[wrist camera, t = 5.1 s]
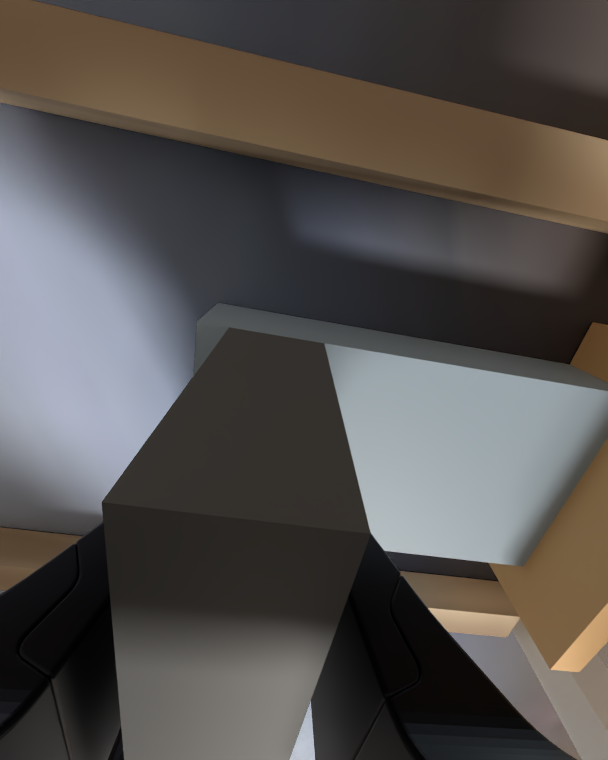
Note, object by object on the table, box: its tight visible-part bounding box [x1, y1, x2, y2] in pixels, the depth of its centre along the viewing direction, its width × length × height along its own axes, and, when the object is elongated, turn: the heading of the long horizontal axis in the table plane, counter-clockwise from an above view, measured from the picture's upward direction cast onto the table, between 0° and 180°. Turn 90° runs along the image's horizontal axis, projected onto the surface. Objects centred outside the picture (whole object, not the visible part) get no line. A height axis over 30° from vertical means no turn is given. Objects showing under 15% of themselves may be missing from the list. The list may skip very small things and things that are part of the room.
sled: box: [102, 303, 608, 760], centre depth 8 cm, size 10×13×8 cm
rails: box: [0, 0, 608, 637], centre depth 11 cm, size 18×23×2 cm
